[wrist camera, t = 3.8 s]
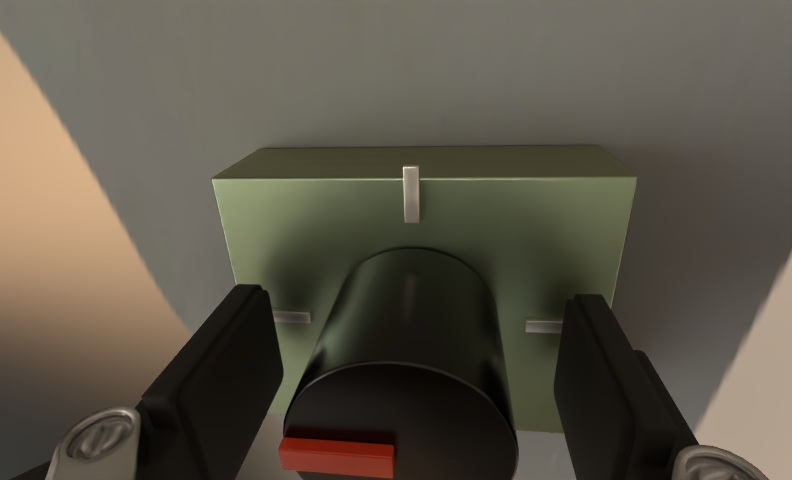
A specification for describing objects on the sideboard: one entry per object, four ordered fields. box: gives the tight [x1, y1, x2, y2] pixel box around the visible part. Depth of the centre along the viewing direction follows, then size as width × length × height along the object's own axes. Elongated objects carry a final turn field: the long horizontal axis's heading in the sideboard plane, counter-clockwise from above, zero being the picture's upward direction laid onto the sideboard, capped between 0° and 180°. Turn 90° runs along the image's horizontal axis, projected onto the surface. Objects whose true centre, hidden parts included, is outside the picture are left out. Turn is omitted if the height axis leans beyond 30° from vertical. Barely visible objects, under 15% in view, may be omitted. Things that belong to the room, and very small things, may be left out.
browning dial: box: [279, 249, 519, 480], centre depth 10 cm, size 4×4×4 cm
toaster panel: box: [212, 145, 638, 433], centre depth 13 cm, size 10×9×3 cm
